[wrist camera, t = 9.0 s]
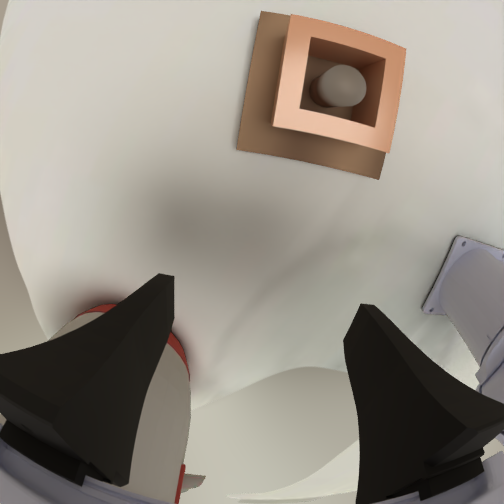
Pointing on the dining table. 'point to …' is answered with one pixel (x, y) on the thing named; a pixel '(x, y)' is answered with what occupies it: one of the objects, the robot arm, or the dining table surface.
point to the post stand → (302, 106)
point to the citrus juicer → (157, 423)
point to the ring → (348, 53)
